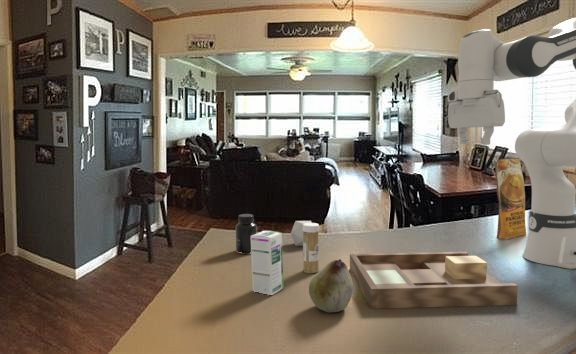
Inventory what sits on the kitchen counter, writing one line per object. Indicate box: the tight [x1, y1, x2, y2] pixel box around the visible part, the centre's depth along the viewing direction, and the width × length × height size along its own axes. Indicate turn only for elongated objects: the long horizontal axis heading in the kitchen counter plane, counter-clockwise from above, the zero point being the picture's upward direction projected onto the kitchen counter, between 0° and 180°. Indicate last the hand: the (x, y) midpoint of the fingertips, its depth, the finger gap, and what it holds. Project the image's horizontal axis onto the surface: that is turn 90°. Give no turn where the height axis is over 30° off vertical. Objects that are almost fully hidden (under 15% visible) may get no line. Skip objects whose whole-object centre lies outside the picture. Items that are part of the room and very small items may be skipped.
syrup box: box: [250, 230, 284, 296], centre depth 111 cm, size 6×6×14 cm
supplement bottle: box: [235, 213, 258, 253], centre depth 145 cm, size 7×7×12 cm
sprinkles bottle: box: [302, 222, 320, 274], centre depth 125 cm, size 5×5×14 cm
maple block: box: [445, 255, 488, 279], centre depth 114 cm, size 8×6×4 cm
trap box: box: [349, 251, 519, 310], centre depth 114 cm, size 33×27×4 cm
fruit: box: [308, 258, 354, 314], centre depth 100 cm, size 10×9×12 cm
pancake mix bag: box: [494, 157, 527, 240], centre depth 162 cm, size 7×19×28 cm, turn 123°
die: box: [290, 220, 313, 247], centre depth 153 cm, size 8×9×10 cm
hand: (474, 144), depth 122 cm, fingers open, 8 cm apart
